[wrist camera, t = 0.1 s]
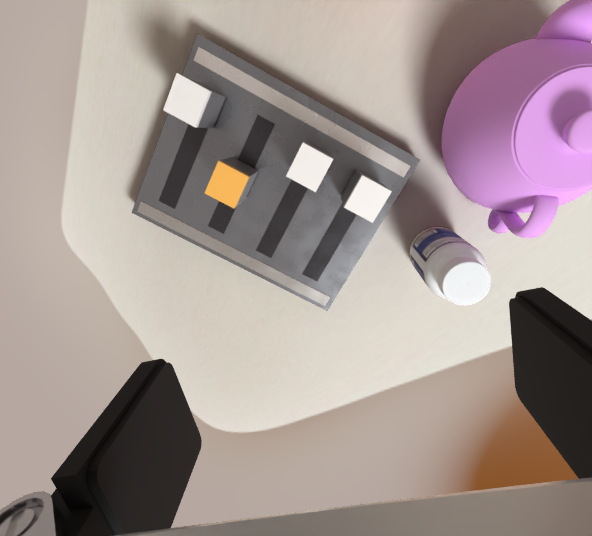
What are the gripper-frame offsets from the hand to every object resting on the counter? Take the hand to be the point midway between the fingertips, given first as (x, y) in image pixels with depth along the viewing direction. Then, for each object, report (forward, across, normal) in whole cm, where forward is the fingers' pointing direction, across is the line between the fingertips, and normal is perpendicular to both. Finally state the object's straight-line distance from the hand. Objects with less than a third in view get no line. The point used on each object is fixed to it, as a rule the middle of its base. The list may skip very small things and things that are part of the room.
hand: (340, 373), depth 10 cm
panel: (+31, +5, -2) cm, 32 cm away
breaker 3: (+29, -4, 0) cm, 29 cm away
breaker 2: (+29, +1, -4) cm, 29 cm away
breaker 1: (+29, +9, -11) cm, 32 cm away
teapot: (+31, -19, -3) cm, 37 cm away
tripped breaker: (+29, +8, -4) cm, 30 cm away
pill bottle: (+31, -10, +8) cm, 34 cm away
